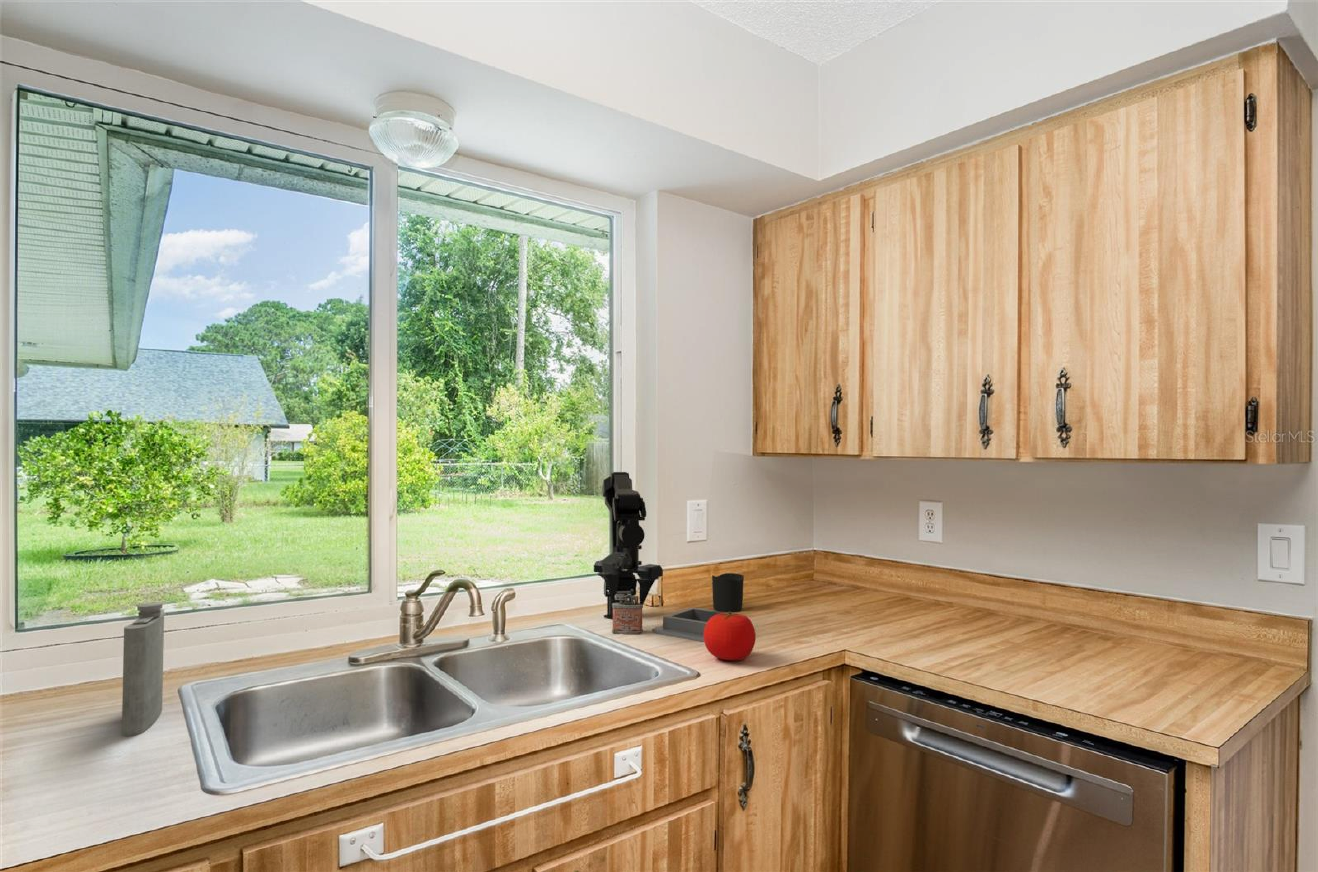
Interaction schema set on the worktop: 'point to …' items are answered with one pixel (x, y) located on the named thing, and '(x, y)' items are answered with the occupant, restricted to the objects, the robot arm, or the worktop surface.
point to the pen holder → (728, 592)
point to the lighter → (627, 615)
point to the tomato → (729, 636)
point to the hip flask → (143, 670)
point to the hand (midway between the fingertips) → (627, 602)
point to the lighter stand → (686, 623)
